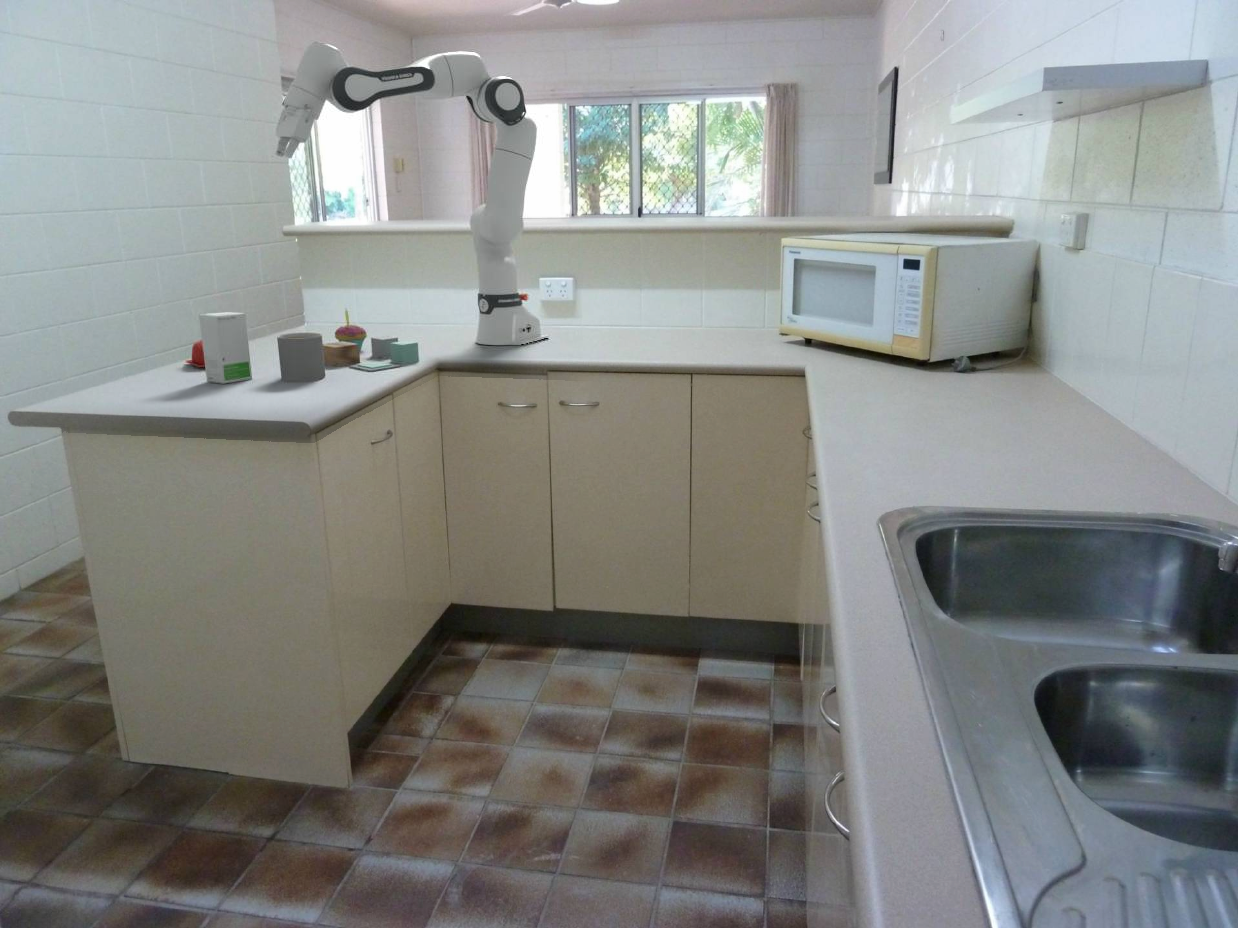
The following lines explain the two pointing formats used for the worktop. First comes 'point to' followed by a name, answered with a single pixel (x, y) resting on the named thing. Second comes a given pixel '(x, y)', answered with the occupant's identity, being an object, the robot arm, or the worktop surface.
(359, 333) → the cupcake
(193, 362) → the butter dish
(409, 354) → the teal block
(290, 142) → the robot arm
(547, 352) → the worktop surface
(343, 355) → the walnut block
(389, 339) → the grey block
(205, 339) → the skincare box
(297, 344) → the coffee mug
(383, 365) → the tile
